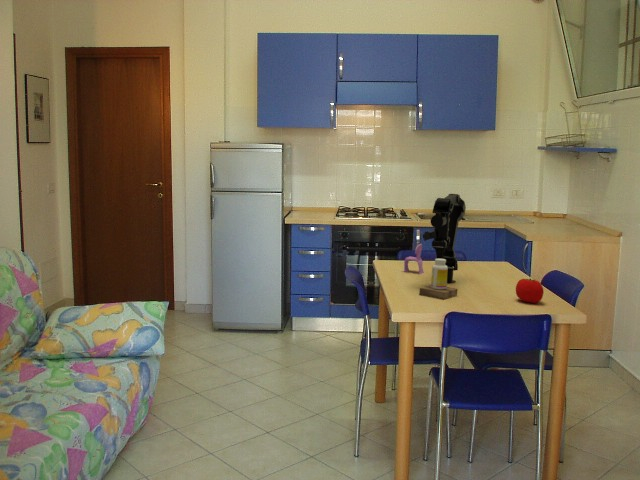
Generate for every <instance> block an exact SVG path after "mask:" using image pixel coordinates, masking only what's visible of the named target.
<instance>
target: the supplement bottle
mask: <svg viewBox="0 0 640 480" xmlns="http://www.w3.org/2000/svg"><path fill="white" fill-rule="evenodd" d="M434 263H435V264H433V265H432V267H431V268H432V269H431V283H430V285H431V287H432V288H433V289H438V290H443V289H446V287H448V286H447V285H448V283H447V272H448V267H447V266H446V265H445V263H446V260H445V259H437V258H434Z"/></svg>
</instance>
